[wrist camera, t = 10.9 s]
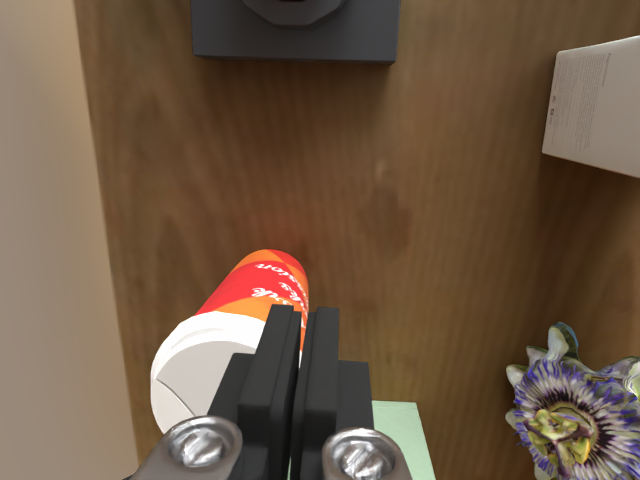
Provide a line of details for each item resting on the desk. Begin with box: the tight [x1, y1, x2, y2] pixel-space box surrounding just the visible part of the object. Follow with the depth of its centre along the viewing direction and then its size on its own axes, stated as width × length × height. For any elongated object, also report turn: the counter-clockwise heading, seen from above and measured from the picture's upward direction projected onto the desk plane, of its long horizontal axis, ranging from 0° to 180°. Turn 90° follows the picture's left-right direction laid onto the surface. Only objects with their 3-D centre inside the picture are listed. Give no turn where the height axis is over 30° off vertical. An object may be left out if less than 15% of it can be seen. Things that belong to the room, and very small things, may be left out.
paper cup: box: [151, 249, 309, 434], centre depth 27 cm, size 8×8×14 cm
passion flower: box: [505, 321, 640, 480], centre depth 32 cm, size 11×11×12 cm
